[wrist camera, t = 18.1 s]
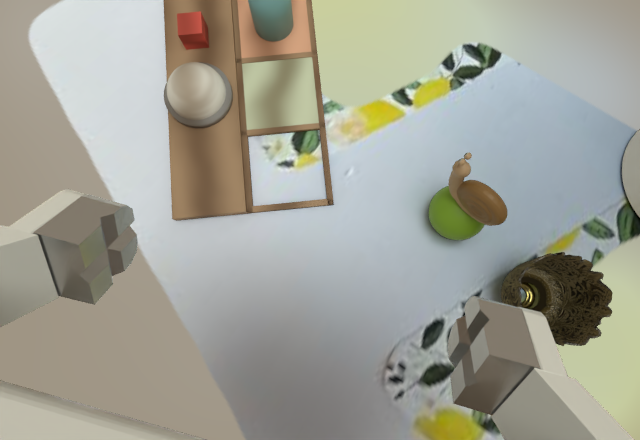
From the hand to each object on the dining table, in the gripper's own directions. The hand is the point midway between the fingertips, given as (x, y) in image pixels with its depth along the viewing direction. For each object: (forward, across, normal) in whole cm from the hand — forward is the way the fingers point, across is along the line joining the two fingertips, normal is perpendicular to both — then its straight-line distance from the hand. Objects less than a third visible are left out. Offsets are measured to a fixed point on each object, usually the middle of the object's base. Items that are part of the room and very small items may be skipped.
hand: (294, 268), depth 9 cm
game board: (+34, +13, +10) cm, 38 cm away
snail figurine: (+29, -11, +15) cm, 34 cm away
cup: (+24, -20, +19) cm, 37 cm away
